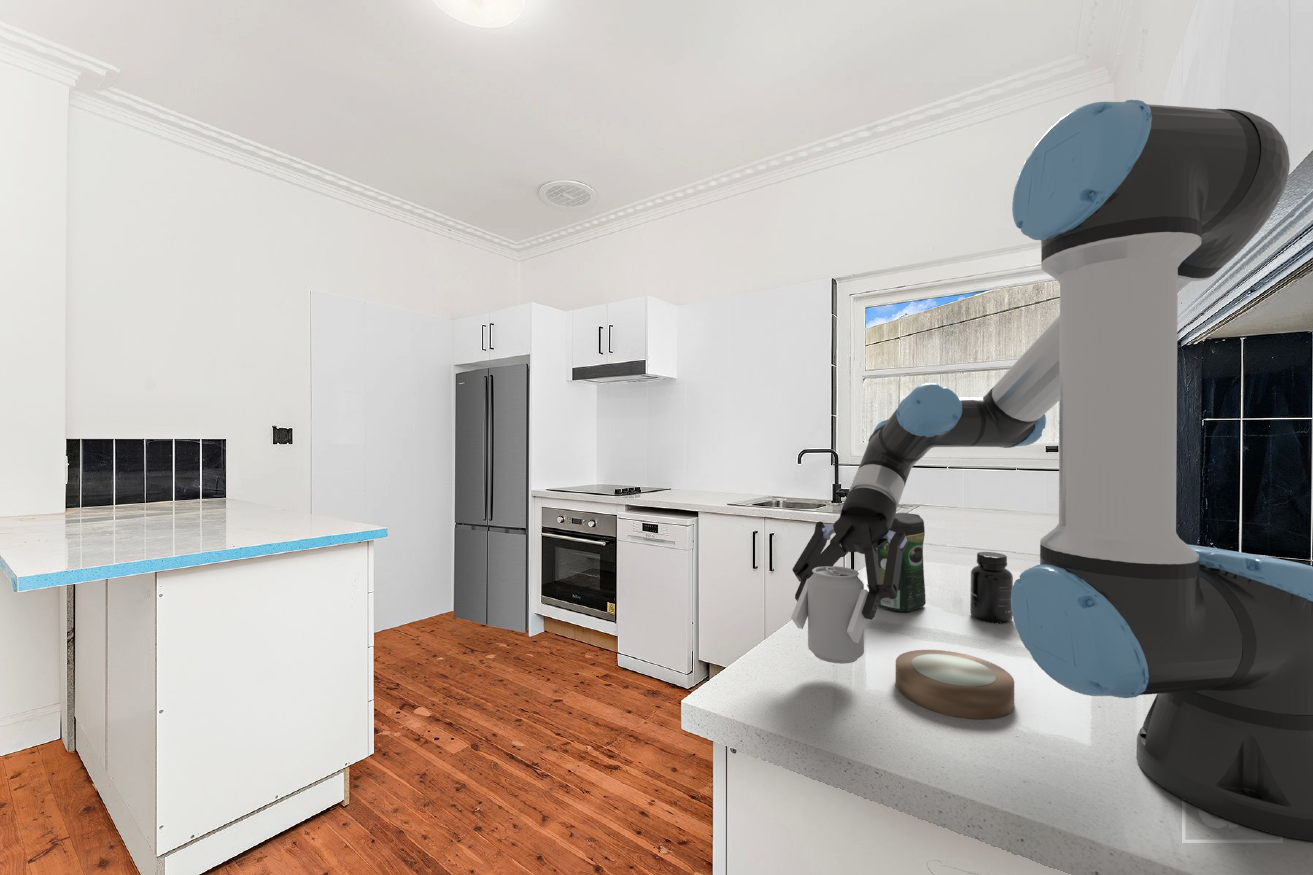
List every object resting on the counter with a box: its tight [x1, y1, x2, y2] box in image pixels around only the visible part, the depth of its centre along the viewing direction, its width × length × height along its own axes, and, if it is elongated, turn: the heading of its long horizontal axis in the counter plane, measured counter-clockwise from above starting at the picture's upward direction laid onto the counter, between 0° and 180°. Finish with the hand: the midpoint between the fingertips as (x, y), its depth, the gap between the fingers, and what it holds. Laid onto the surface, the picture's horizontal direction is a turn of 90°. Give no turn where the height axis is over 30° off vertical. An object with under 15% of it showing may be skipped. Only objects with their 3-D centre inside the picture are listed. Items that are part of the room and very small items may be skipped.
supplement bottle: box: [969, 551, 1014, 625], centre depth 105 cm, size 7×7×12 cm
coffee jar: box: [877, 512, 926, 613], centre depth 112 cm, size 10×8×19 cm
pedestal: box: [894, 649, 1015, 720], centre depth 75 cm, size 14×14×3 cm
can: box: [807, 565, 865, 665], centre depth 79 cm, size 8×8×12 cm
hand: (823, 629), depth 76 cm, fingers closed on can, 7 cm apart
